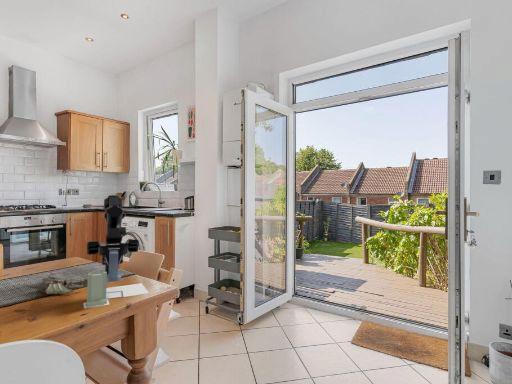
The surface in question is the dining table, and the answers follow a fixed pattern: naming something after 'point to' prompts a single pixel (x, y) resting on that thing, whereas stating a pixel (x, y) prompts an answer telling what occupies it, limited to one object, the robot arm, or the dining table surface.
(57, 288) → the figurine
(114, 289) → the card
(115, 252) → the blue flanged post
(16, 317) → the dining table surface
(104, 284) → the pale green upright block
